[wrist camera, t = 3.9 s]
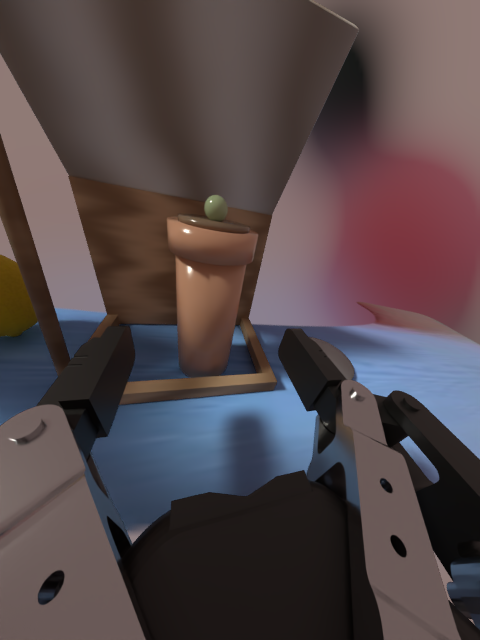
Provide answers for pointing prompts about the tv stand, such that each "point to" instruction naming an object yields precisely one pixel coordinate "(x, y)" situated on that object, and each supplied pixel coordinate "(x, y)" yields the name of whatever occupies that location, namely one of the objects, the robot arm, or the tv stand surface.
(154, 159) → the cold frame
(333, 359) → the grey-brown flat disc
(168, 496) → the tv stand surface
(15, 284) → the lemon
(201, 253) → the pot
